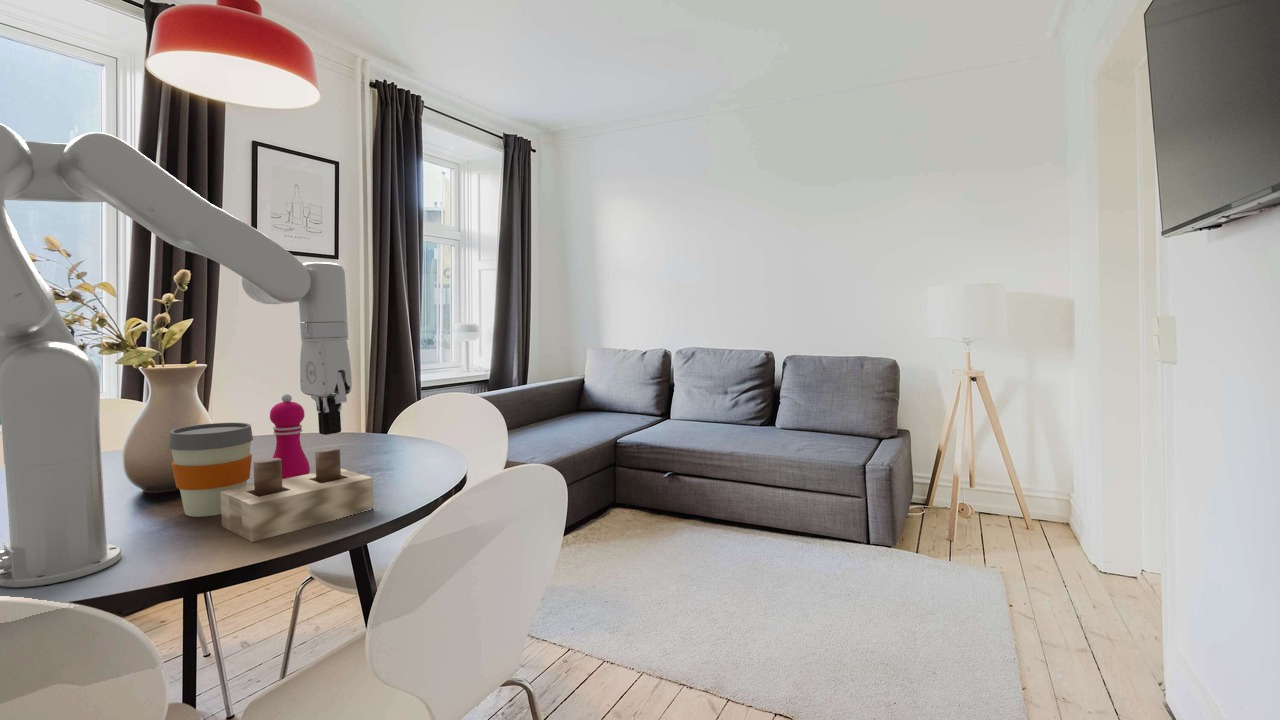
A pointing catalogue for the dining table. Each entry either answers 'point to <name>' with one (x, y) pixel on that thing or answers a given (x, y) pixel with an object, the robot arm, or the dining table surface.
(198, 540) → the dining table surface
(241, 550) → the dining table surface
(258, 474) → the near walnut peg
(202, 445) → the reusable coffee cup
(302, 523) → the oak socket block
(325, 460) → the far walnut peg
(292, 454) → the pepper mill
